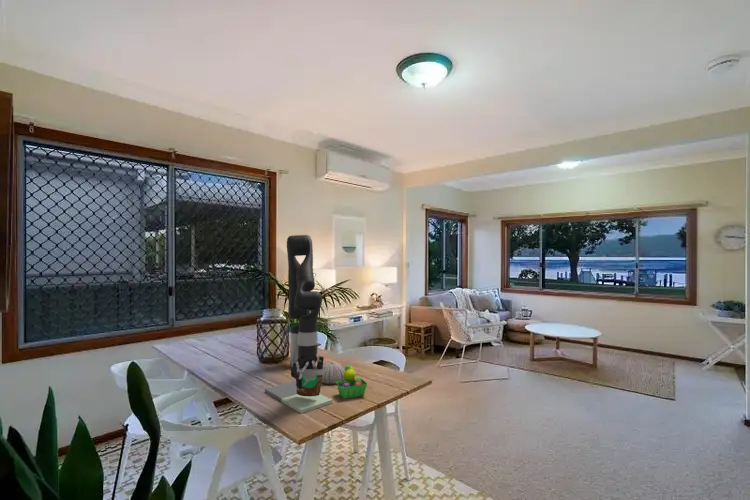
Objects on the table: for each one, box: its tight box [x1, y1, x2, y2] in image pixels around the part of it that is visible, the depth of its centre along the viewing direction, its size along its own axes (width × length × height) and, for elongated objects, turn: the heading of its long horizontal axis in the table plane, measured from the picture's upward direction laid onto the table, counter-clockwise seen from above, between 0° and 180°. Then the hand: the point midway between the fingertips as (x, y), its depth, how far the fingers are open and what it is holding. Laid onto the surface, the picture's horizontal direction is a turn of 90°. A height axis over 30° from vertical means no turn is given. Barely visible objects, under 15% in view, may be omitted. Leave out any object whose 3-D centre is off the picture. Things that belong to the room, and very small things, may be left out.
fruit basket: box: [335, 364, 368, 399], centre depth 150 cm, size 11×9×11 cm
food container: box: [297, 365, 324, 396], centre depth 140 cm, size 12×6×10 cm, turn 66°
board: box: [264, 380, 333, 414], centre depth 146 cm, size 14×28×1 cm, turn 43°
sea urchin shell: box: [321, 361, 345, 384], centre depth 166 cm, size 13×14×8 cm
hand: (307, 385), depth 141 cm, fingers closed on food container, 6 cm apart
